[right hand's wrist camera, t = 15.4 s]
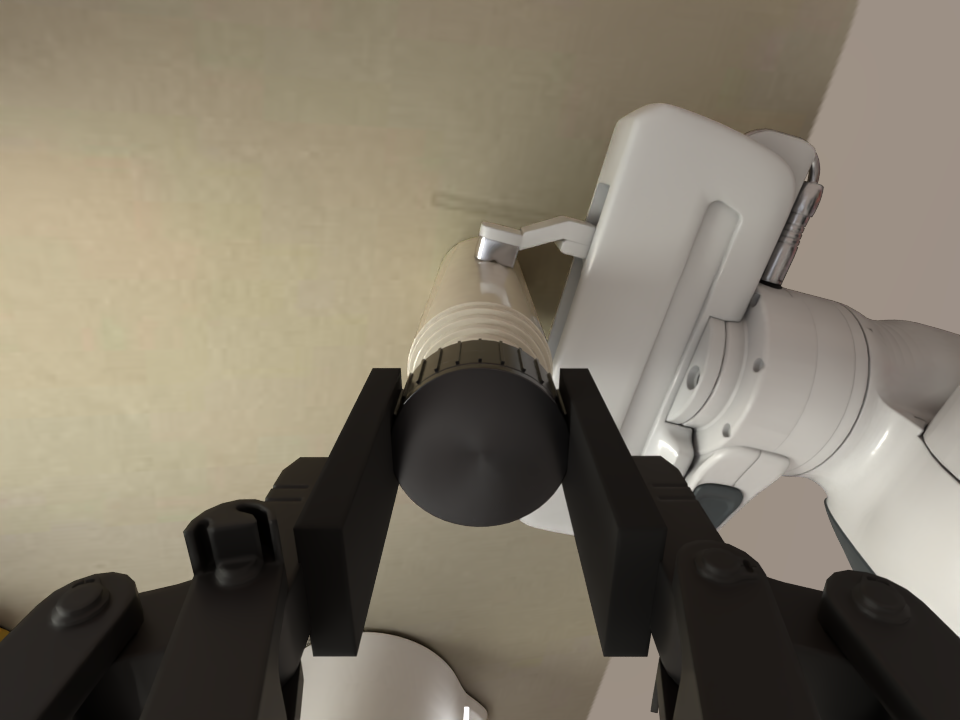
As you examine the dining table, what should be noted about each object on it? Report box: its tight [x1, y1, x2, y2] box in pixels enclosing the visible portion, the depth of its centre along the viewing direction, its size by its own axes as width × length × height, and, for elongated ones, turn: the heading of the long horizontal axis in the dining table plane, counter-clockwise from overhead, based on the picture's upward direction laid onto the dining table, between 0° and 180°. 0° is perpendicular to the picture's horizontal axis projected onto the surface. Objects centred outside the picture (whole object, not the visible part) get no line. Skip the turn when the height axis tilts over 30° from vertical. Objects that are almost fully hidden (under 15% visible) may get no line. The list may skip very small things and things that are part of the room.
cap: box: [391, 338, 570, 527], centre depth 14 cm, size 4×4×2 cm
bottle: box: [407, 237, 553, 376], centre depth 22 cm, size 5×5×18 cm
